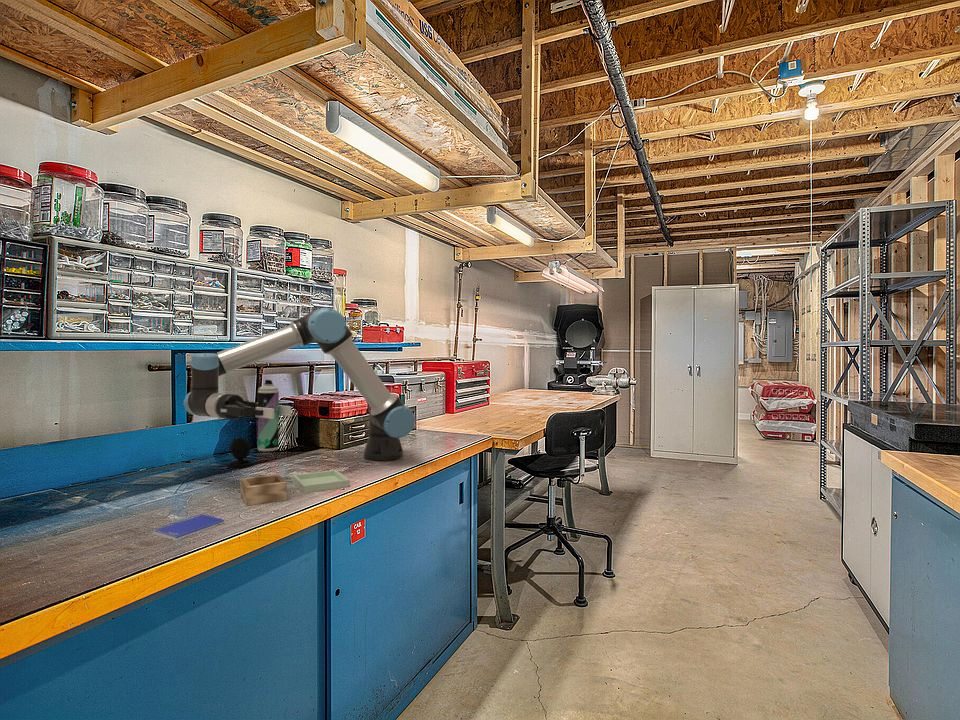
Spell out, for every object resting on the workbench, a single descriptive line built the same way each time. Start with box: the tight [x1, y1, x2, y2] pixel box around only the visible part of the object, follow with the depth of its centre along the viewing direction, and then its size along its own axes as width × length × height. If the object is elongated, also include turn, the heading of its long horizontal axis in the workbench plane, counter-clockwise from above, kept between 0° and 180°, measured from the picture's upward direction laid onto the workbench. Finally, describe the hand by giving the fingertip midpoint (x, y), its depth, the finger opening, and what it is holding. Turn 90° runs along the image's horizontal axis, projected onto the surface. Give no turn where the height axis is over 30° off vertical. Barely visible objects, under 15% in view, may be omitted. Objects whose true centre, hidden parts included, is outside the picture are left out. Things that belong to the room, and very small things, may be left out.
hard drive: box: [152, 514, 225, 541], centre depth 120 cm, size 2×8×12 cm
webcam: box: [227, 437, 253, 469], centre depth 179 cm, size 8×8×10 cm
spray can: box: [257, 379, 280, 452], centre depth 145 cm, size 6×6×20 cm
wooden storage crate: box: [240, 473, 288, 507], centre depth 144 cm, size 10×10×5 cm
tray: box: [291, 469, 351, 494], centre depth 159 cm, size 14×14×2 cm
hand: (281, 412), depth 142 cm, fingers closed on spray can, 5 cm apart
